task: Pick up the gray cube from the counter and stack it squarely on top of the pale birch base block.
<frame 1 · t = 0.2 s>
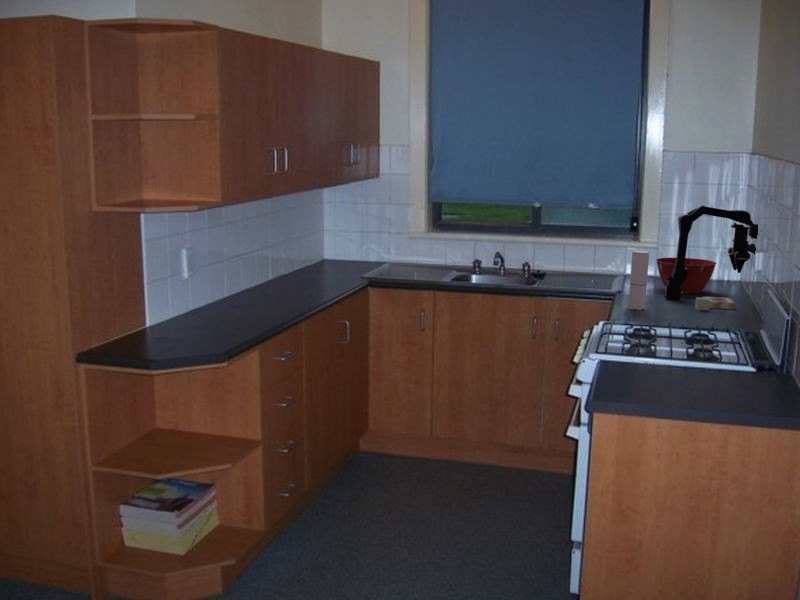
hand: (737, 271, 413), 14 cm above the countertop, tool pointing down, fingers open, 9 cm apart
white rectangular tower: (636, 308, 392), on the countertop
mixing bowl: (683, 292, 440), on the countertop
gray cube: (701, 309, 395), on the countertop
birch base: (717, 306, 404), on the countertop
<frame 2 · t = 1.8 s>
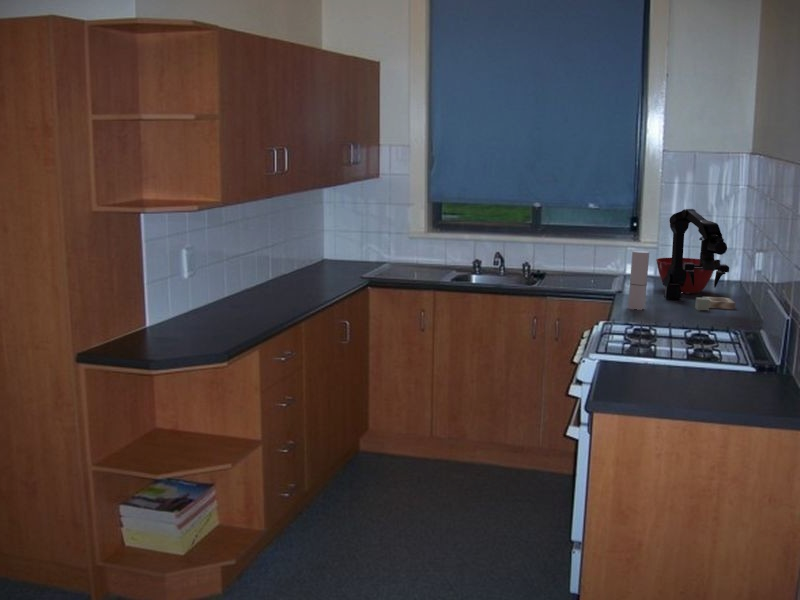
hand: (704, 286, 393), 10 cm above the countertop, tool pointing down, fingers open, 9 cm apart
nothing on the countertop moved.
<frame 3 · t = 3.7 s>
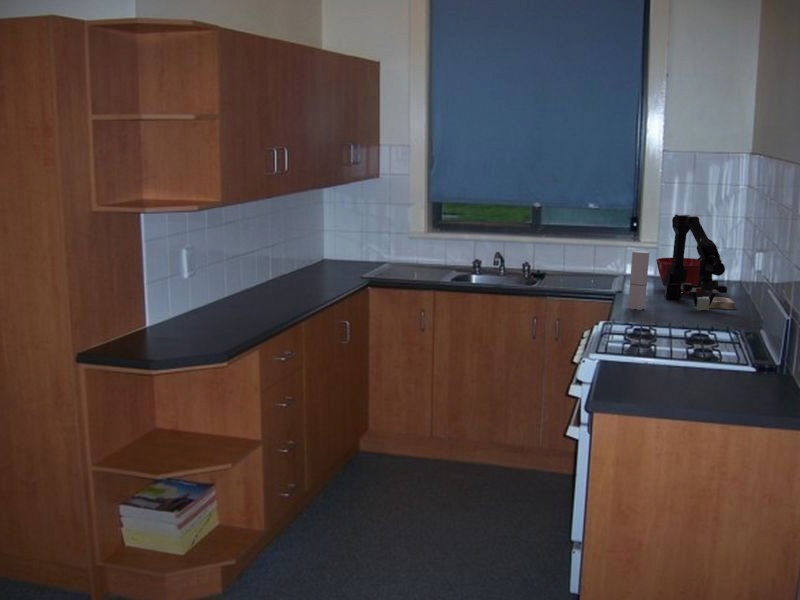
hand: (702, 307, 394), 1 cm above the countertop, tool pointing down, fingers closed on gray cube, 5 cm apart
gray cube: (701, 309, 395), on the countertop, touching gripper
everything else where it was.
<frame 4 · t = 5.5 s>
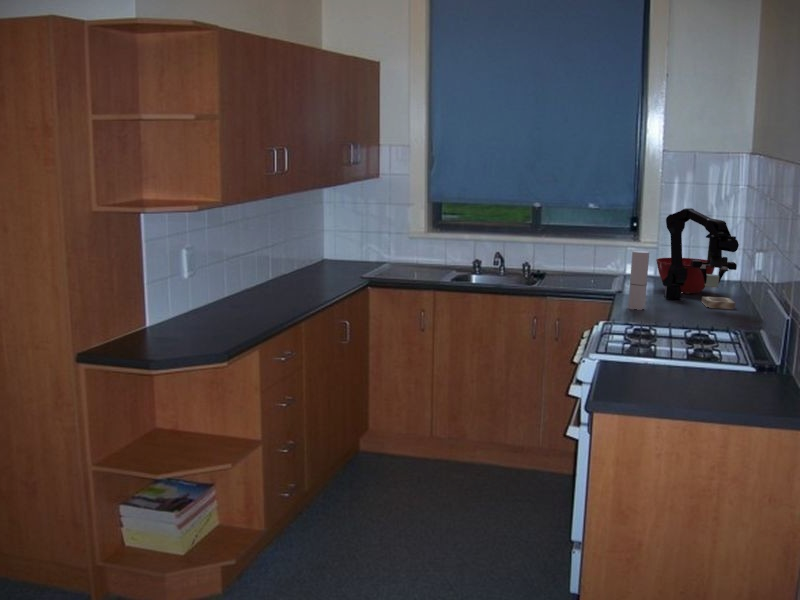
hand: (711, 283, 397), 11 cm above the countertop, tool pointing down, fingers closed on gray cube, 5 cm apart
gray cube: (711, 286, 397), point 10 cm above the countertop, touching gripper
everything else where it was.
when the fingers open (5 cm above the countertop, at t = 7.7 s): gray cube drops 1 cm, resting on birch base.
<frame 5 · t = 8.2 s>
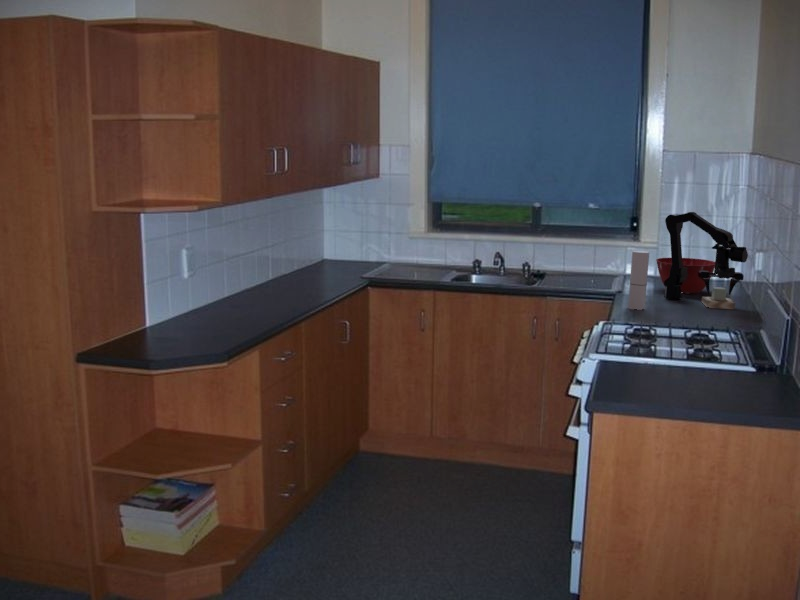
hand: (718, 294, 403), 5 cm above the countertop, tool pointing down, fingers open, 9 cm apart
gray cube: (718, 299, 404), point 3 cm above the countertop, touching birch base
everything else where it was.
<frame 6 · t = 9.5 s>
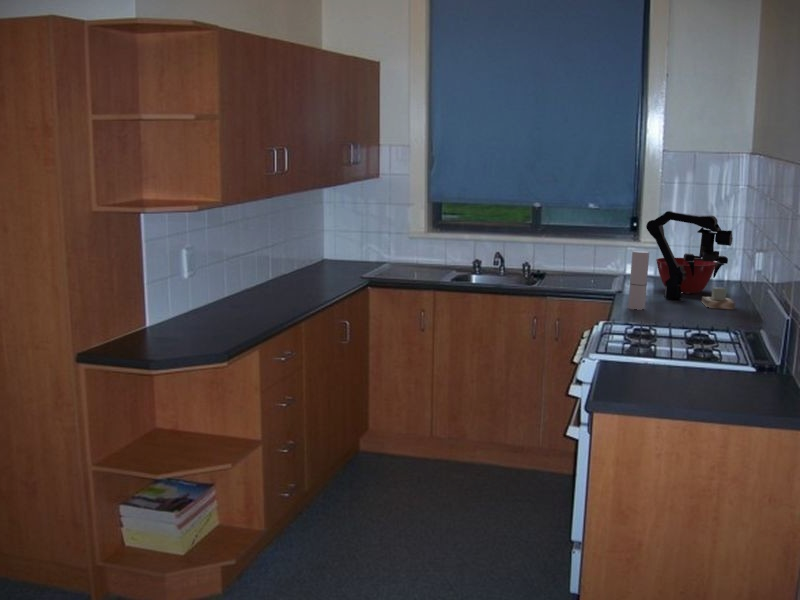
hand: (703, 277, 410), 12 cm above the countertop, tool pointing down, fingers open, 9 cm apart
nothing on the countertop moved.
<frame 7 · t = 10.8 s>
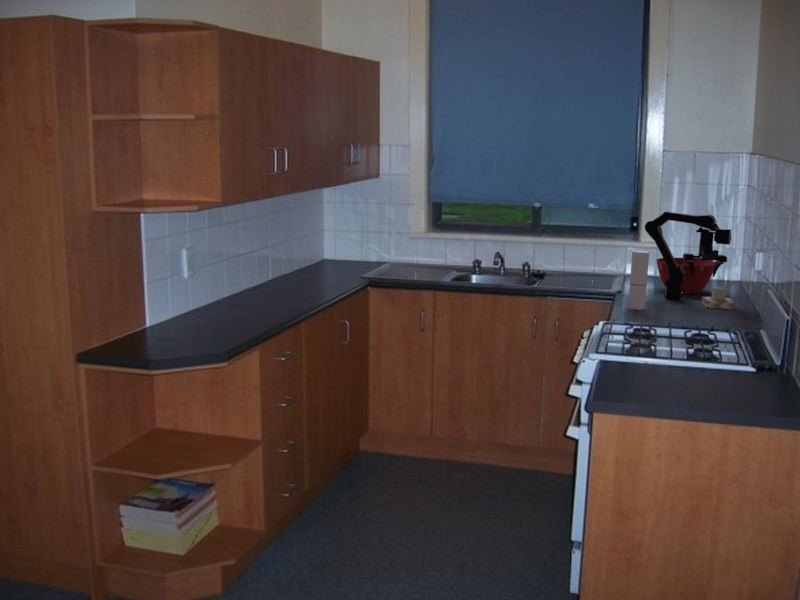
hand: (703, 276, 411), 12 cm above the countertop, tool pointing down, fingers open, 9 cm apart
nothing on the countertop moved.
at the end: gray cube inside the target area on the birch base (0.0 cm from its centre), point 3.2 cm above the birch base's base; gray cube tilted 0°; the gripper is holding nothing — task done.
